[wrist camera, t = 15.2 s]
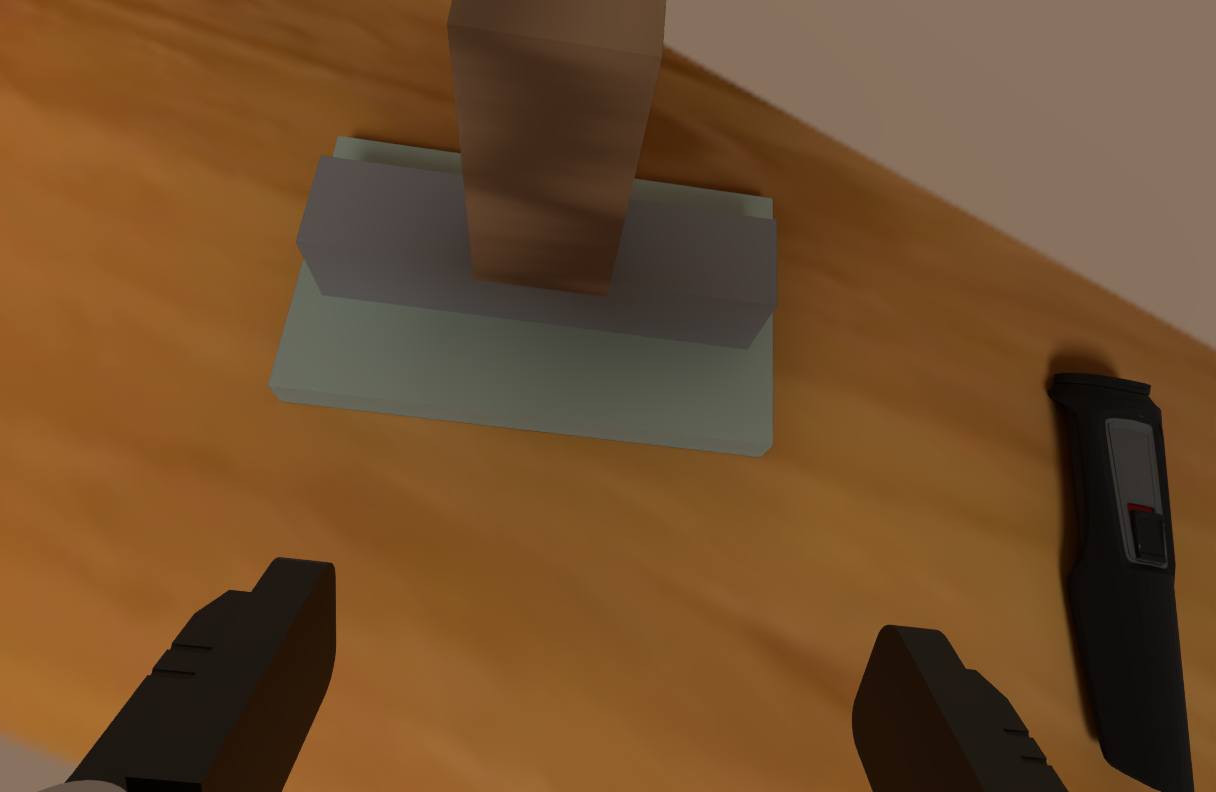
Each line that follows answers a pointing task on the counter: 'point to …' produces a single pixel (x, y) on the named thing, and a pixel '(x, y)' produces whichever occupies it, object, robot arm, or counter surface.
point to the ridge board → (527, 356)
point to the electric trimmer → (1126, 579)
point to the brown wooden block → (551, 132)
